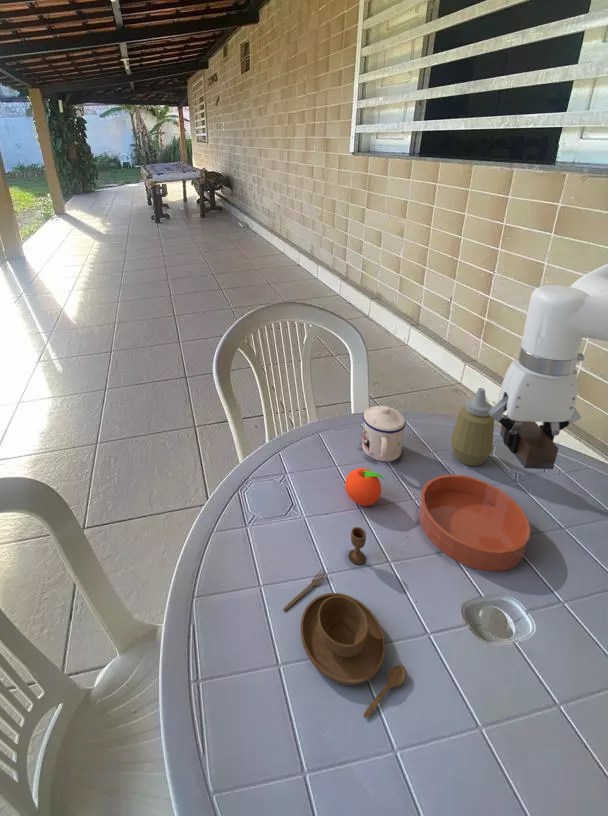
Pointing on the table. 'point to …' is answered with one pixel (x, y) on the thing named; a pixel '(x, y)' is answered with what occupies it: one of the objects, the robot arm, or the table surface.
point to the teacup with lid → (383, 433)
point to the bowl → (474, 522)
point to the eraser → (534, 447)
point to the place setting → (346, 634)
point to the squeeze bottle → (473, 431)
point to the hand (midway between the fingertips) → (525, 447)
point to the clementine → (363, 486)
